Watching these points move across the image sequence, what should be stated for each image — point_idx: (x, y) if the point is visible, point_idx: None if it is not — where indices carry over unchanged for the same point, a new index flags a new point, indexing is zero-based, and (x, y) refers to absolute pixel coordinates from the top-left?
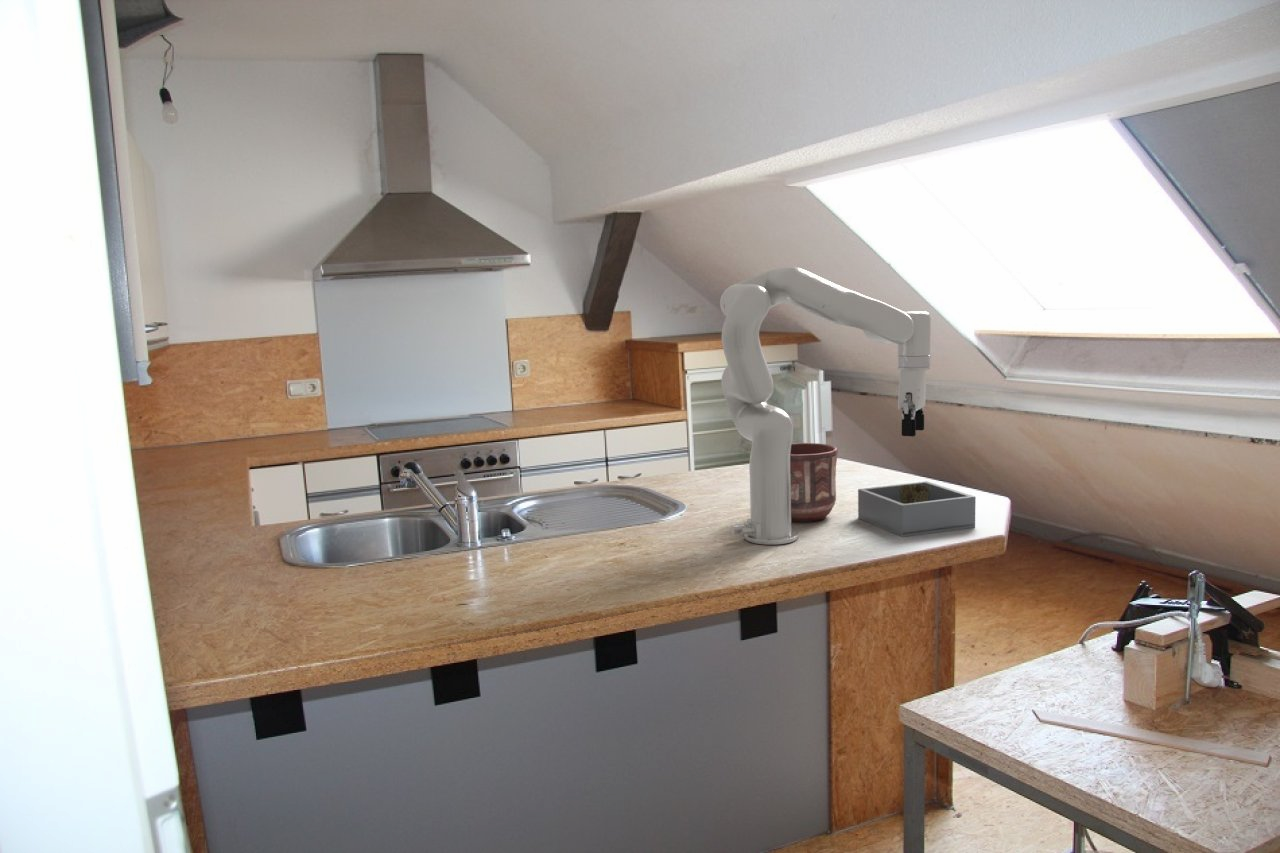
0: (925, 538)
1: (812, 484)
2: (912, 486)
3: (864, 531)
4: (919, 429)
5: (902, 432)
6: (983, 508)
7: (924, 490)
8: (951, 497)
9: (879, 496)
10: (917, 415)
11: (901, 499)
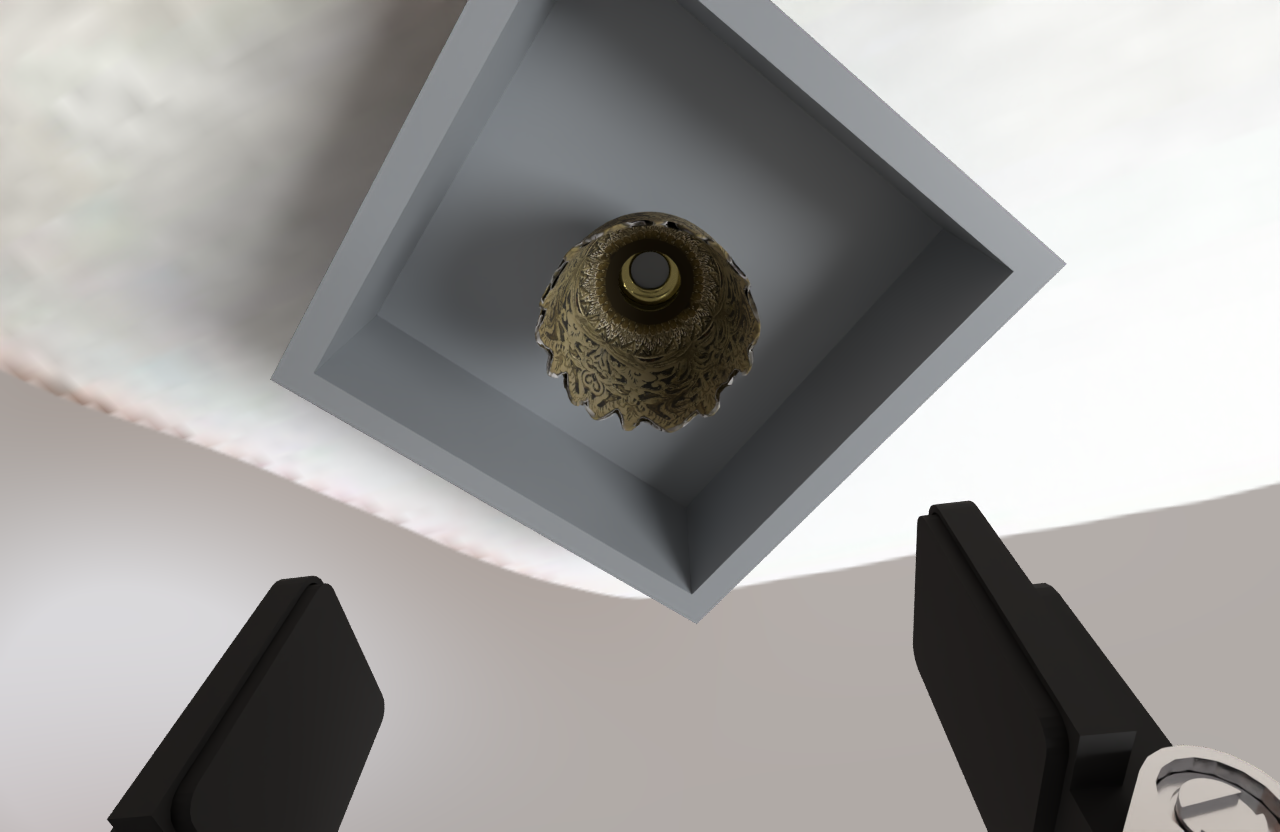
0: None
1: None
2: (739, 280)
3: (316, 83)
4: (914, 622)
5: (263, 617)
6: (1079, 462)
7: (591, 417)
8: (785, 471)
9: (406, 140)
10: (1028, 818)
11: (581, 241)
